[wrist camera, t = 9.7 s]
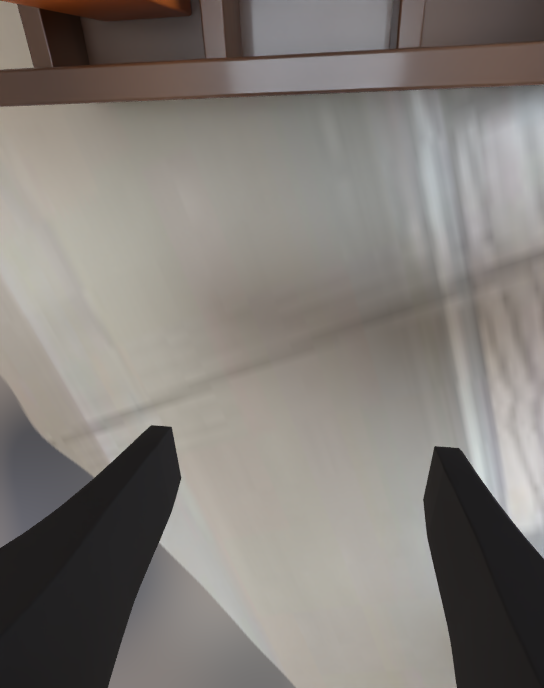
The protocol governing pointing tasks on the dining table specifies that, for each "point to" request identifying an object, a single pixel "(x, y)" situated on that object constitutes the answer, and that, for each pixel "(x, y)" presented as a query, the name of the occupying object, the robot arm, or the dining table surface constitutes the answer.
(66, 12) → the book
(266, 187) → the dining table surface
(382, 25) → the book rack
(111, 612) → the robot arm
